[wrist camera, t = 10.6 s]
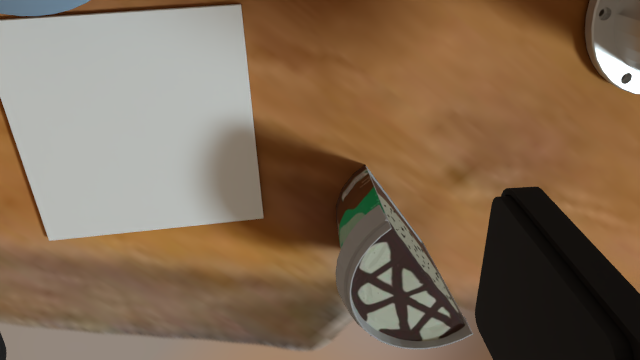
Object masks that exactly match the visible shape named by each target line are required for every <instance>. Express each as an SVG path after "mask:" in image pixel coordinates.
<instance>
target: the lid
mask: <svg viewBox="0 0 640 360" xmlns="http://www.w3.org/2000/svg"><path fill="white" fill-rule="evenodd" d="M88 1H90V0H0V13H1V14H8V15H16V16H42V15H50V14H56V13H60V12H64V11H67V10H71V9H73V8H75V7H78V6H80V5H82V4H85V3H87V2H88Z"/></svg>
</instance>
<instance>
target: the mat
mask: <svg viewBox="0 0 640 360" xmlns="http://www.w3.org/2000/svg"><path fill="white" fill-rule="evenodd" d="M0 98H1V101H2V104H3V107H4V109H5V112H6V115H7V118H8V121H9V124H10V127H11V130H12V133H13V136H14V139H15V142H16V145H17V148H18V151H19V154H20V156H21V159H22V162H23V165H24V168H25V171H26V174H27V177H28V180H29V183H30V186H31V189H32V192H33V195H34V198H35V201H36V204H37V206H38V209H39V212H40V215H41V218H42V221H43V224H44V227H45V230H46V233H47V236H48V239H49V241H51V240H60V239H70V238H79V237H89V236H99V235H108V234H118V233H128V232H137V231H147V230H157V229H166V228H176V227H185V226H195V225H205V224H214V223H224V222H234V221H243V220H253V219H262V218H264V217H263V207H262V198H261V188H260V179H259V170H258V160H257V151H256V141H255V132H254V123H253V113H252V104H251V94H250V85H249V76H248V66H247V57H246V47H245V38H244V29H243V19H242V10H241V4H231V5H216V6H201V7H185V8H170V9H154V10H139V11H124V12H108V13H93V14H77V15H62V16H47V17H31V18H16V19H0Z"/></svg>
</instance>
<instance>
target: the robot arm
mask: <svg viewBox="0 0 640 360" xmlns="http://www.w3.org/2000/svg"><path fill="white" fill-rule="evenodd" d="M585 39H586V46H587V51H588V54H589V56H590V59H591V62H592V64H593V65H594V67H595V68H596V70H597V71H598V73H599V74H600V75H601V76H602V77H603V78H605V79H606V80H607V81H608V82H609V83H611V84H613V85H615V86H616V87H618V88H620V89H622V90H625V91H628V92H631V93H633V94H640V0H590V1H589V5H588V9H587V14H586V22H585ZM475 318H476V323H477V327H478V329H479V332H480V334H481V336H482V338H483V340H484V342H485V344H486V346H487V348H488V350H489V352H490V354H491V356H492V358H493V360H640V294H639V293H638V292H637V290H636V289H635V288H634V287H633V286H632V285H631V284H630V283H629V282H628V281H627V280H626V279H625V278H624V277H623V276H622V275H621V273H620V272H619V271H618V270H617V269H616V268H615V267H614V266H613V265H612V264H611V263H610V262H609V261H608V260H607V259H606V257H605V256H604V255H603V254H602V253H601V252H600V251H599V250H598V249H597V248H596V247H595V246H594V245H593V244H592V243H591V242H590V240H589V239H588V238H587V237H586V236H585V235H584V234H583V233H582V232H581V231H580V230H579V229H578V228H577V227H576V226H575V224H574V223H573V222H572V221H571V220H570V219H569V218H568V217H567V216H566V215H565V214H564V213H563V212H562V211H561V210H560V208H559V207H558V206H557V205H556V204H555V203H554V202H553V201H552V200H551V199H550V198H549V197H548V196H547V195H546V194H545V193H544V191H543V190H542V189H540V188H539V187H523V188H507V189H505V190H504V191H503V193H502V195H501V197H495V198H494V200H493V202H492V207H491V213H490V219H489V226H488V232H487V238H486V245H485V251H484V257H483V264H482V270H481V276H480V283H479V289H478V296H477V302H476V308H475ZM0 360H6V347H5V343H4V341H3V338H2V336H1V333H0Z"/></svg>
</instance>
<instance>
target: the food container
mask: <svg viewBox="0 0 640 360" xmlns="http://www.w3.org/2000/svg"><path fill="white" fill-rule="evenodd" d="M336 223H337V229H338V236H339V242H340V248H341V251H340V253H339V256H338V260H337V266H336V284H337V288H338V292H339V295H340V297H341V299H342V301H343V303H344V305H345V306H346V308H347V309H348V311H349V313H350V314H351V316H352V317H353V318H354V320H355V321H356V322H357V324H358V325H360V326H361V327H362V328H363V329H364V330H365V331H366V332H368V333H369V334H370V335H371V336H373V337H374V338H376V339H378V340H379V341H381V342H383V343H386V344H388V345H391V346H395V347H399V348H407V349H429V348H437V347H441V346H445V345H449V344H452V343H455V342H457V341H460V340H462V339H464V338H466V337H468V336H470V335H472V334H473V333H472V331H471V328H470V326H469V324H468V322H467V320H466V318H465V317H463V315H462V313H461V311H460V309H459V307H458V306H457V304H456V302H455V300H454V298H453V296H452V295H451V293H450V291H449V289H448V287H447V286H446V284H445V282H444V280H443V278H442V276H441V275H440V273H439V271H438V269H437V267H436V265H435V264H434V262H433V260H432V258H431V256H430V255H429V253H428V251H427V249H426V247H425V245H424V244H423V242H422V241H421V239H420V238H419V237H418V235H417V234H416V233H415V231H414V230H413V229H412V227H411V226H410V224H409V223H408V222H407V220H406V219H405V218H404V216H403V215H402V214H401V212H400V211H399V210H398V208H397V207H396V206H395V204H394V203H393V202H392V200H391V199H390V198H389V196H388V195H387V193H386V192H385V191H384V189H383V188H382V187H381V185H380V184H379V183H378V181H377V180H376V179H375V177H374V176H373V175H372V173H371V172H370V171H369V169H368V168H367V166H366V165H364V166H363V167H362V168H361V169H359V170H358V171H357V172H355V173H354V174H353V175H352V177H351V178H350V179H349V181H348V182H347V183H346V184H345V186H344V187H343V188H342V190H341V193H340V196H339V199H338V202H337V204H336Z"/></svg>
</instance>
